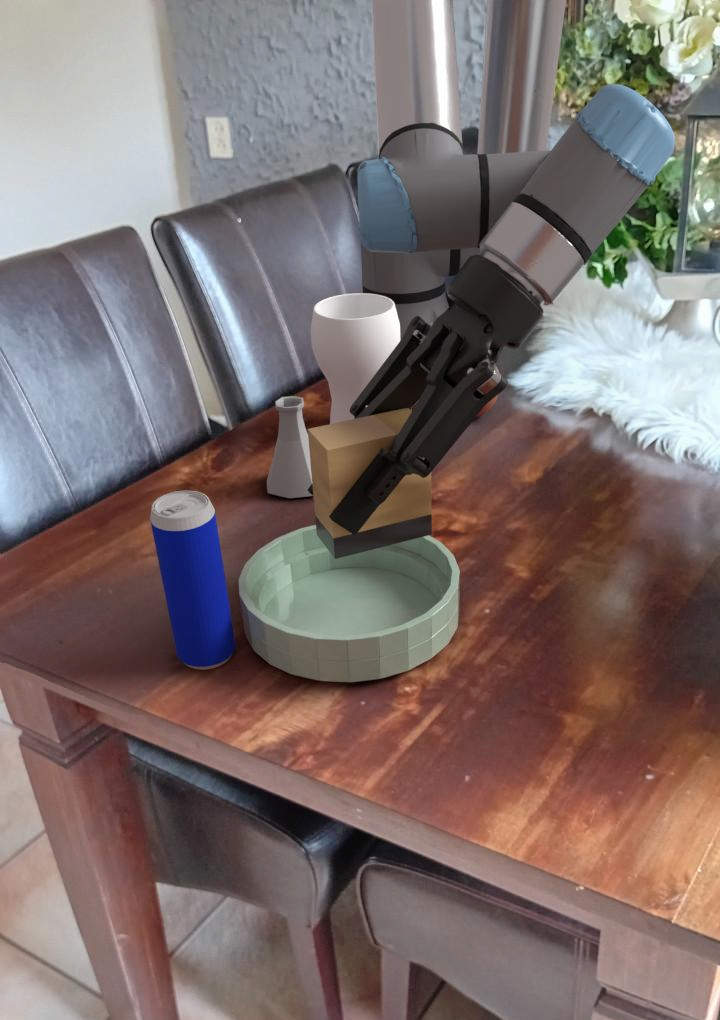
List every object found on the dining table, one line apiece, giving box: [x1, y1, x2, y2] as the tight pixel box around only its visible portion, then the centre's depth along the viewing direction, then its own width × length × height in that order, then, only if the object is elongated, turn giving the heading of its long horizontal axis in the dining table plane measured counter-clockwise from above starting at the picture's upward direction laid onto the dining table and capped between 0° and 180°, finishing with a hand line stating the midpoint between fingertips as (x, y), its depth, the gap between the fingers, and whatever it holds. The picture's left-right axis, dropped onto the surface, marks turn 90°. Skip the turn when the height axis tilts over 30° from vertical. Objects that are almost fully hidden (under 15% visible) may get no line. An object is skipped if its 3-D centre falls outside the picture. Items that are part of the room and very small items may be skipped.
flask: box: [266, 395, 314, 499], centre depth 110 cm, size 7×7×10 cm
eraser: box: [307, 408, 433, 559], centre depth 84 cm, size 9×4×10 cm, turn 112°
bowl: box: [238, 524, 461, 683], centre depth 90 cm, size 19×19×5 cm
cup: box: [310, 292, 400, 424], centre depth 121 cm, size 11×11×15 cm
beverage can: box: [149, 490, 237, 671], centre depth 84 cm, size 5×5×15 cm
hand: (331, 511), depth 84 cm, fingers closed on eraser, 4 cm apart
